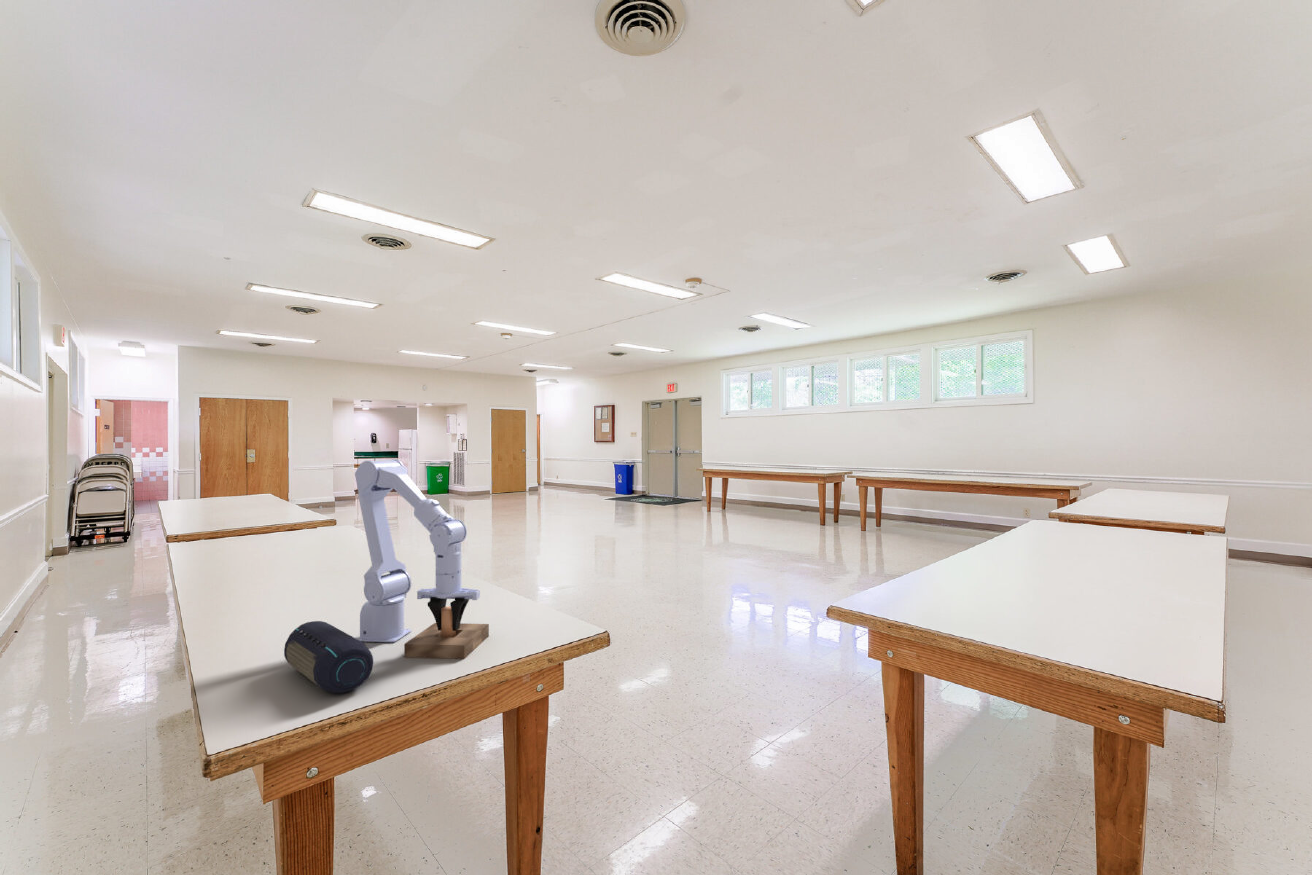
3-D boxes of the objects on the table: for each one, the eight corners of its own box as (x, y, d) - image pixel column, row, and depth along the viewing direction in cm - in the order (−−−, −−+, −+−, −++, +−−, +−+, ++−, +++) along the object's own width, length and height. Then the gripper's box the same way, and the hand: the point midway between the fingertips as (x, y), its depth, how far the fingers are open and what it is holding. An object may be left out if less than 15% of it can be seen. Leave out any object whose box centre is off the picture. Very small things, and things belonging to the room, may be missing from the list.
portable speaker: (278, 670, 114) (278, 623, 114) (329, 656, 122) (329, 612, 122) (323, 707, 98) (323, 652, 98) (379, 687, 106) (379, 637, 106)
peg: (438, 640, 126) (438, 610, 126) (445, 635, 129) (445, 606, 129) (451, 640, 125) (451, 610, 125) (458, 635, 128) (458, 606, 128)
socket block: (404, 657, 121) (404, 643, 121) (434, 634, 135) (434, 622, 135) (464, 658, 120) (464, 645, 120) (488, 635, 134) (488, 623, 134)
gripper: (410, 575, 124) (410, 634, 124) (471, 576, 123) (471, 635, 123) (425, 568, 131) (425, 624, 131) (483, 569, 130) (483, 625, 130)
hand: (448, 629), depth 127 cm, fingers closed on peg, 3 cm apart
